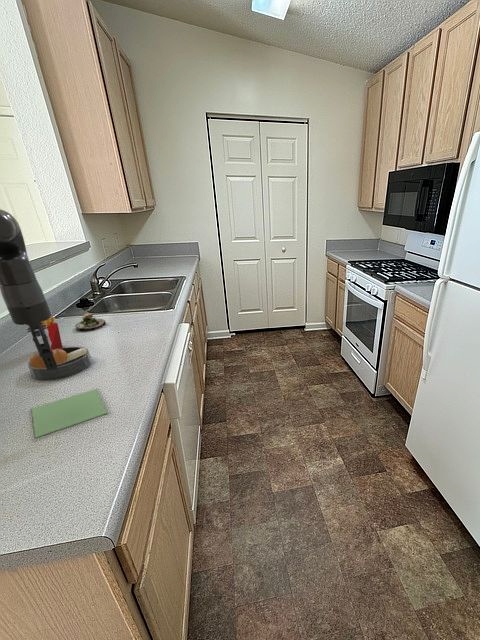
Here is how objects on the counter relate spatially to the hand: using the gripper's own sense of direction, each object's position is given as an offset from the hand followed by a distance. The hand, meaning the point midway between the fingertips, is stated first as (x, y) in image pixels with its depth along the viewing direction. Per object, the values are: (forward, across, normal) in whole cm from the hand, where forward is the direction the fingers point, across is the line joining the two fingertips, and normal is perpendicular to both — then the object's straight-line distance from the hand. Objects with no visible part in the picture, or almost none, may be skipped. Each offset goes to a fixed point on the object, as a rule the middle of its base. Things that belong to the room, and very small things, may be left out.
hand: (51, 365), depth 86 cm
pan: (+14, -31, +2) cm, 34 cm away
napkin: (+14, +1, 0) cm, 14 cm away
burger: (+14, -70, +17) cm, 73 cm away
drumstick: (0, 0, +2) cm, 2 cm away
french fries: (+14, -51, 0) cm, 53 cm away
